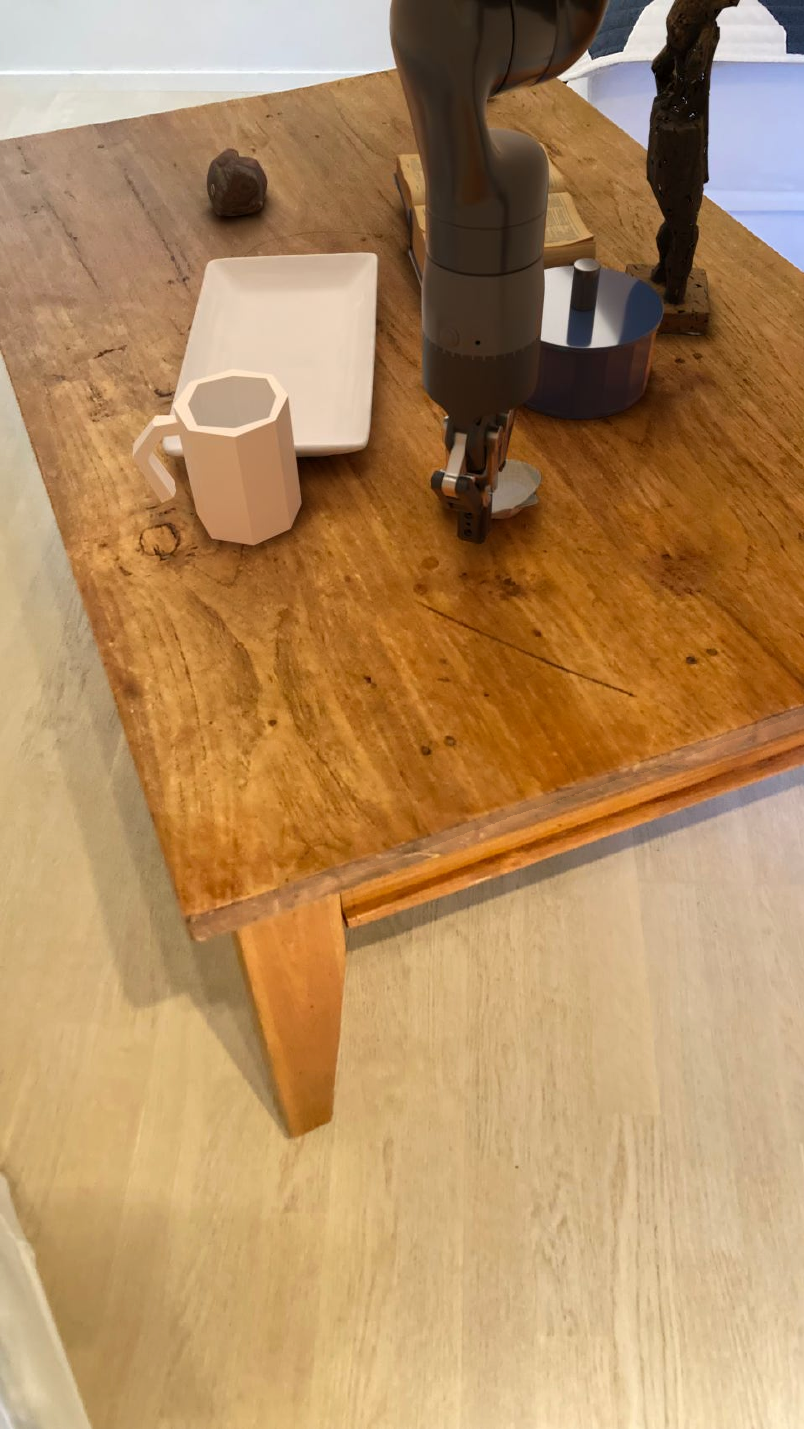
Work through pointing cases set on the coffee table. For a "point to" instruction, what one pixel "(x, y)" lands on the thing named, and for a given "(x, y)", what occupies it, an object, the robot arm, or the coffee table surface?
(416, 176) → the book
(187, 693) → the coffee table surface
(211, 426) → the mug
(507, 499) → the seashell
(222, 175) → the dark brown rock
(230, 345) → the white slab
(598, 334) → the pot lid
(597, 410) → the pot
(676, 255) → the sculpture
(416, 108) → the robot arm
